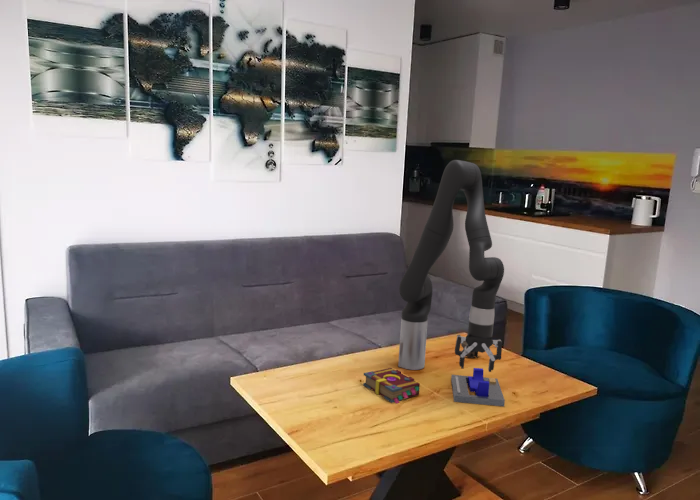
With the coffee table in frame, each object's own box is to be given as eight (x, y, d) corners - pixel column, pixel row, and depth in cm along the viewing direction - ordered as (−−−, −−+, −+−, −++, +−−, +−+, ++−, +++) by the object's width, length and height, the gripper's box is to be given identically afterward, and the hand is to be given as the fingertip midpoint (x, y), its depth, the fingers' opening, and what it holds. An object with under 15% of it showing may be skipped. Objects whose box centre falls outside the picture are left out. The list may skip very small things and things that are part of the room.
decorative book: (390, 379, 184) (391, 365, 183) (422, 397, 171) (423, 382, 170) (362, 386, 178) (363, 371, 177) (393, 405, 165) (394, 389, 164)
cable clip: (467, 384, 182) (468, 367, 181) (481, 385, 182) (482, 368, 181) (473, 400, 170) (474, 382, 169) (487, 401, 170) (489, 383, 169)
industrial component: (484, 357, 209) (487, 326, 207) (472, 360, 204) (474, 329, 202) (465, 350, 216) (467, 320, 214) (452, 353, 211) (455, 323, 210)
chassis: (454, 401, 168) (454, 393, 168) (451, 380, 185) (451, 372, 185) (504, 406, 167) (504, 398, 166) (496, 384, 183) (497, 376, 183)
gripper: (458, 321, 169) (453, 371, 172) (506, 326, 167) (500, 376, 170) (457, 314, 176) (452, 362, 179) (503, 319, 174) (497, 367, 177)
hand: (476, 369), depth 174 cm, fingers open, 8 cm apart
